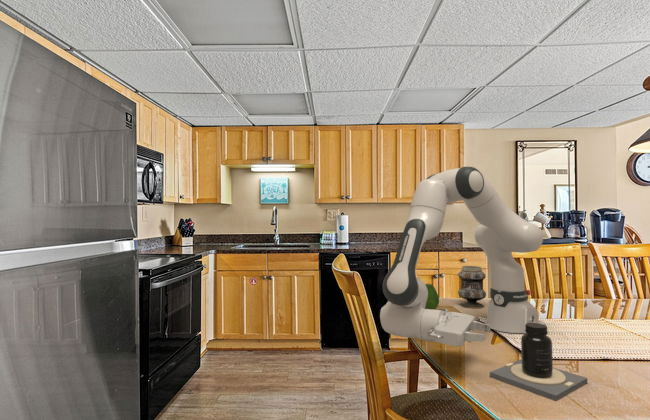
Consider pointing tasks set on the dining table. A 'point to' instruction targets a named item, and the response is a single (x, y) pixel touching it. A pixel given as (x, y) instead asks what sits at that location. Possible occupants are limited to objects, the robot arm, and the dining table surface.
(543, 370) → the supplement bottle
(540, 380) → the slate board
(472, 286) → the apothecary jar
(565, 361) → the dining table surface
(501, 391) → the dining table surface
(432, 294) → the avocado
